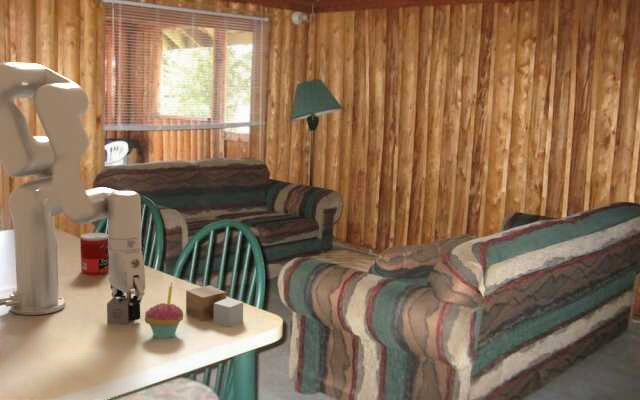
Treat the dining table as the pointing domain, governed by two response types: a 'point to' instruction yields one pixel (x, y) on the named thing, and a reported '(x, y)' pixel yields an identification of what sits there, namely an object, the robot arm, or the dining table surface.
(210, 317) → the walnut block
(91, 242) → the canned food
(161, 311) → the cupcake
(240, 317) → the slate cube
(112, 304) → the dice cube
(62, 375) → the dining table surface
